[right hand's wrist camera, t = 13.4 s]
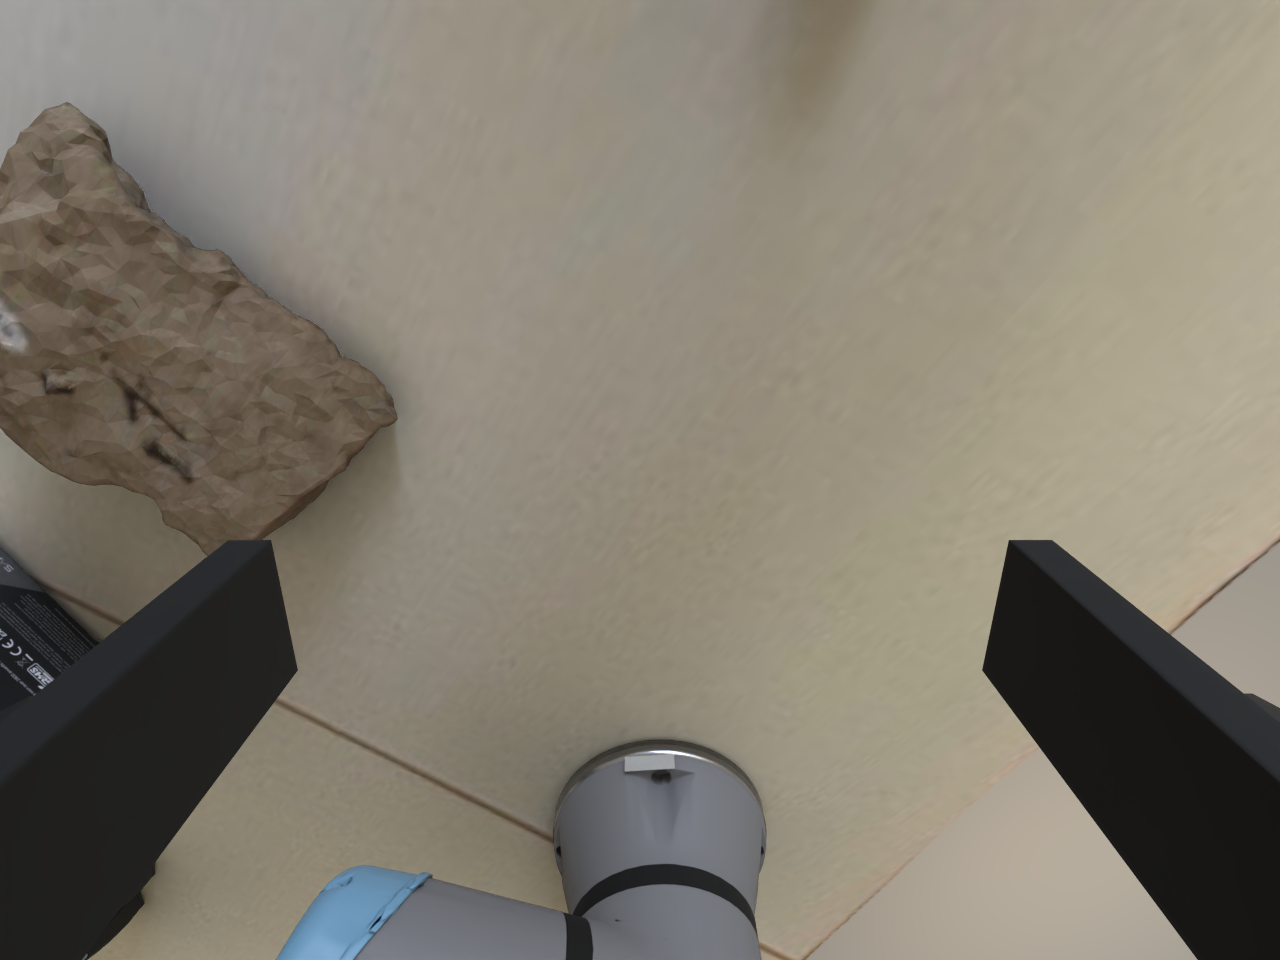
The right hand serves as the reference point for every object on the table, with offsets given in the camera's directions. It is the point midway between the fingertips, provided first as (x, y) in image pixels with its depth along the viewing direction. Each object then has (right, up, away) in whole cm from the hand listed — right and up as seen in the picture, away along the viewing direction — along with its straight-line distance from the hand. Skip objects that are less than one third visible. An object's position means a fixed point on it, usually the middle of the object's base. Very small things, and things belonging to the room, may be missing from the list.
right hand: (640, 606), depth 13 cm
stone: (-25, +10, +27) cm, 38 cm away
